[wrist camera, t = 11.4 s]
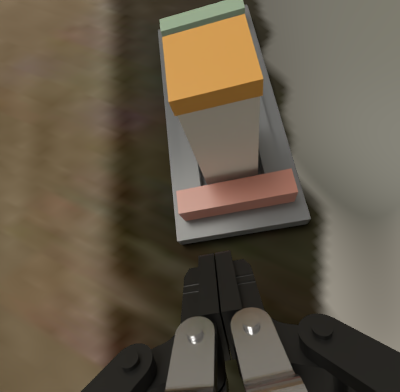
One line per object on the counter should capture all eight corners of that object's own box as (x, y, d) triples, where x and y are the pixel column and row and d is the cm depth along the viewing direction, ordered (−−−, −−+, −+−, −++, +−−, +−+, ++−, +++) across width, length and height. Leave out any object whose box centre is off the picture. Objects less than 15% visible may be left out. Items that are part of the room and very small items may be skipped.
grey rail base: (307, 224, 20) (317, 210, 17) (182, 244, 21) (169, 236, 18) (247, 18, 29) (246, -17, 26) (162, 42, 30) (151, 12, 27)
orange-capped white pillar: (259, 176, 20) (263, 78, 11) (206, 187, 21) (168, 102, 11) (248, 132, 22) (244, 13, 12) (200, 142, 22) (162, 36, 13)
